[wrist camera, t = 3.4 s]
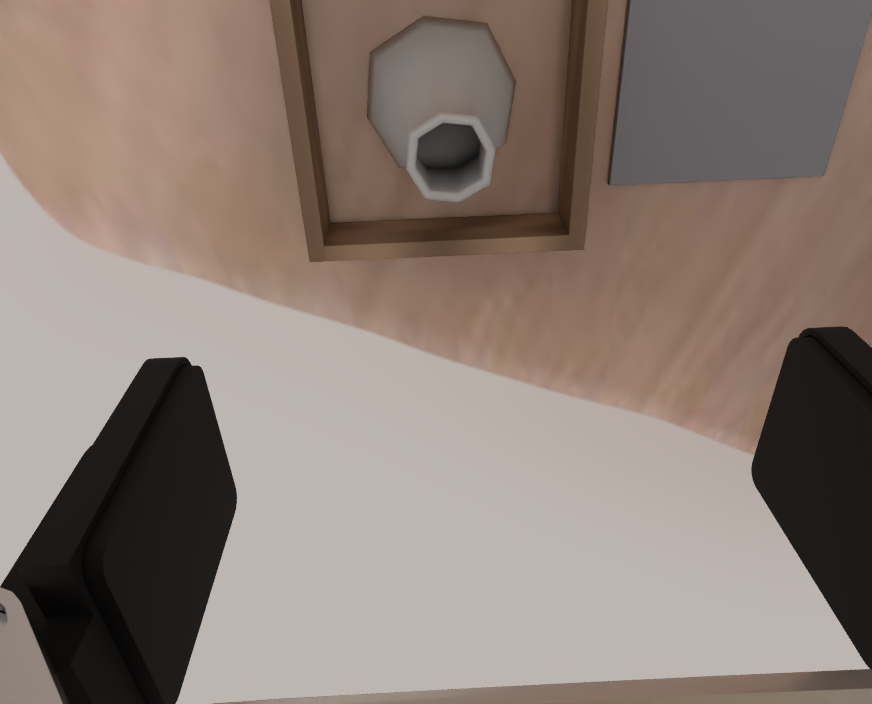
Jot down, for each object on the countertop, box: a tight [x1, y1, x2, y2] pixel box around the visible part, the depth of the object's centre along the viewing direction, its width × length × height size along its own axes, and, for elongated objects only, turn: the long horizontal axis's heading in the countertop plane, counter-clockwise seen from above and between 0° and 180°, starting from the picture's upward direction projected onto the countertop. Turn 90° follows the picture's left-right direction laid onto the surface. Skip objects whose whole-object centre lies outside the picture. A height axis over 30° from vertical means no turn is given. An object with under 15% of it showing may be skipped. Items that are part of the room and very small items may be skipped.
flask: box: [367, 16, 516, 202], centre depth 27 cm, size 7×7×10 cm
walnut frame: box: [270, 0, 608, 262], centre depth 30 cm, size 14×14×3 cm
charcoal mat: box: [608, 0, 872, 186], centre depth 30 cm, size 11×11×1 cm
